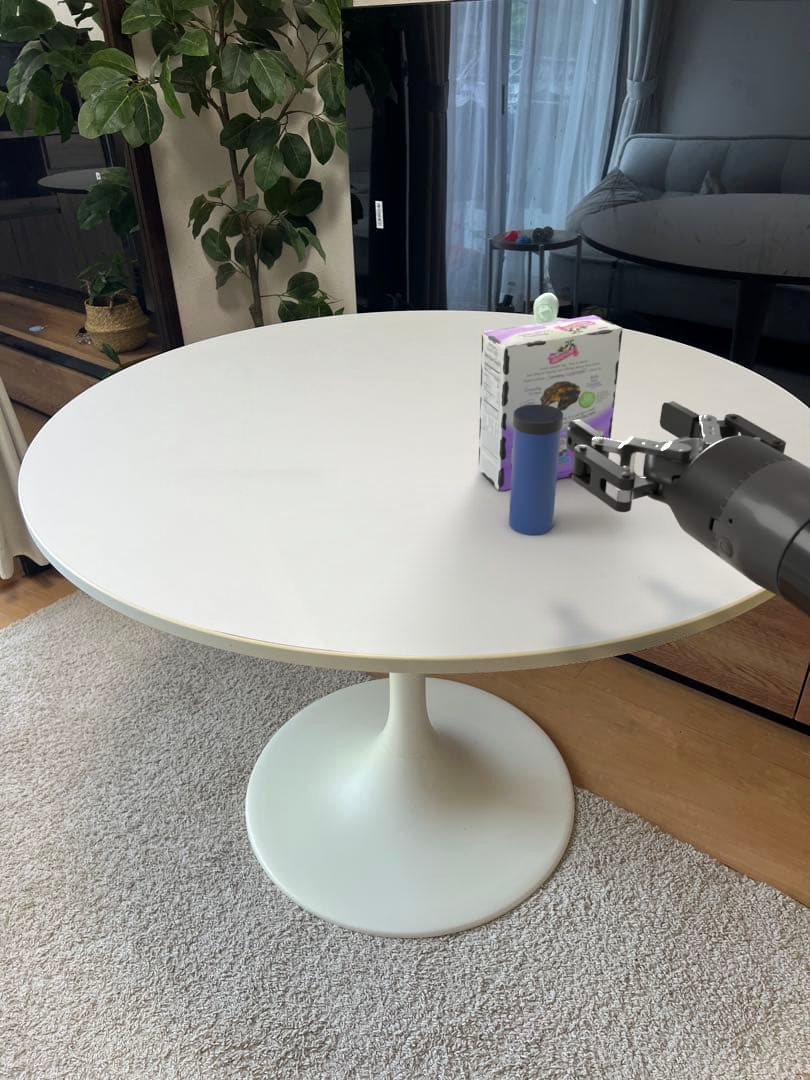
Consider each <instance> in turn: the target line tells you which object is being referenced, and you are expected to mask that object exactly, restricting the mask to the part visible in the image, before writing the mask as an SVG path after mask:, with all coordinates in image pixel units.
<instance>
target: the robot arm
mask: <svg viewBox="0 0 810 1080" xmlns="http://www.w3.org/2000/svg"><path fill="white" fill-rule="evenodd" d="M659 425H660V427H661V429H663V430H665V431H666V432H667V433H669V434H671V435H673V436H674V437H676V439H673V440H672V441H661V442H660V441H656V440H650V439H646V438H640V437H635V436H630V437H629V438H627V440H625V441H623V440H618V439H613V438H611V439H608V438H604V436H603V435H602V434H601V433H599V432H598V431H596V430H595V429H593V428H592V427H590V426H589V425H587V424H586V423H584V422H583V421H581V420H574V421H570V422H569V427H568V428H567V436H566V447H567V448H568V449H569V450H571V451H572V452H573V453H574V465H573V472H572V476H571V480H572V481H573V482H574V483H576V484H577V485H579V486H580V487H581V488H583V489H584V490H586V491H587V492H588V493H590V494H591V495H592V496H594V497H596V498H597V499H598V500H600V501H601V502H602V503H604V504H605V505H607V506H608V507H610V508H611V509H613V510H614V511H615V512H618V513H628V512H630V511H631V510H632V504H633V501H634V500H637V499H640V498H645V497H648V498H650V499H652V500H654V501H657V502H659V503H660V502H661V503H663V504H665V505H667V506H668V507H669V509H670V510H671V512H672V514H673V515H674V517H675V520H676V522H677V523H678V526H679V527H680V528H681V530H683V531H684V532H685V533H686V534H687V535H689V536H690V537H691V538H692V539H694V540H695V541H696V542H699V544H701V545H702V546H703V547H705V548H706V549H707V550H709V551H710V552H711V553H712V554H714V555H716V556H717V557H719V558H720V559H721V560H722V561H724V562H725V563H726V564H727V565H729V566H730V567H732V568H733V569H734V570H736V571H737V572H738V573H740V574H741V575H743V576H744V577H745V578H747V579H748V580H749V581H751V582H753V583H754V584H755V585H756V586H758V587H761V588H762V589H764V590H766V591H768V592H769V593H772V594H774V595H775V596H777V597H779V598H780V599H782V600H784V601H785V602H786V603H788V604H789V605H790V606H792V607H793V608H794V609H796V610H798V611H799V612H800V613H802V614H803V615H804V616H805V617H807V618H808V619H810V466H808V465H806V464H804V463H802V462H800V461H798V460H797V459H794V458H793V457H792V456H789V455H787V454H785V450H786V446H787V442H786V441H785V440H783V439H782V438H780V437H778V436H776V435H775V434H773V433H771V432H769V431H768V430H766V429H764V428H762V427H761V426H759V425H757V424H756V423H754V422H752V421H750V420H748V419H747V418H745V417H744V416H741V415H740V414H736V413H727V414H725V415H724V419H721V420H720V419H718V420H717V417H716V416H714V415H711V414H702V415H700V414H698V413H696V412H695V411H693V410H691V409H689V408H687V407H685V406H683V405H681V404H679V403H678V402H676V401H674V400H672V401H666V402H663V403H662V405H661V412H660V417H659ZM608 452H609V453H612V454H616V455H619V457H620V461H619V464H618V463H617V462H616V461H614V460H613V459H610V458H607V454H608ZM637 453H640V454H643V455H644V459H643V460H644V461H643V467H642V468H643V469H642V475H638V474H637V473H636V471H635V463H636V458H637V457H636V456H637Z"/></svg>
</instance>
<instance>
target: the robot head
mask: <svg viewBox="0 0 810 1080" xmlns="http://www.w3.org/2000/svg"><path fill="white" fill-rule="evenodd" d="M559 308H560V304H559V300H558V298H557V297H556V294H554V293H552V292H545V293H542V294H541V295H539V296H538V297H537V298H536V299H535V301H534V303H533V320H534V324H540V323H546V322H554V321H556V319H557V317H558V313H559Z"/></svg>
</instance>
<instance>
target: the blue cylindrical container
mask: <svg viewBox="0 0 810 1080" xmlns="http://www.w3.org/2000/svg"><path fill="white" fill-rule="evenodd" d="M562 424H563V413H562V412H561V411H560V410H559V409H557V408H555V407H552V406H547V405H526V406H522V407H519V408H517V409H516V410H515V411H514V414H513V426H514V434H513V454H512V473H511V489H510V495H509V511H508V512H509V515H508V524H509V527H510V528H511V529H512V530H513V531H515V532H517V533H520V534H523V535H529V536H537V535H543V534H545V533H548V532H549V531H551V529H552V528H553V527H554V513H555V503H556V493H557V492H556V491H557V481H558V479H557V469H558V458H559V446H560V434H561V428H562Z"/></svg>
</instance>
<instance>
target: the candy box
mask: <svg viewBox="0 0 810 1080" xmlns="http://www.w3.org/2000/svg"><path fill="white" fill-rule="evenodd" d="M623 330H624V329H623V327H622V326H619V325H616V324H615V323H612V322H611V321H608V320H605V319H603V318H601V317H600V316H597V315H595V314H592V315H587V316H580V317H575V318H568V319H561V320H555V321H554V322H546V323H540V324H535V323H534V324H527V325H526V324H525V325H519V326H513V327H506V328H500V329H499V328H498V329H492V330H485V331H482V332H481V355H480V356H481V358H480V359H481V360H480V398H479V399H480V400H479V433H478V434H479V435H478V436H479V439H478V466H477V467H478V471H479V472H480V473H481V474H482V475H483V477H485V479H486V480H487V481H488V482H489V483H490V484H491V485H492V487H494V488H495V490H497V491H501V492H502V491H506V490H511V473H512V454H513V434H514V426H513V414H514V411H515V410H516V409H517V408H519V407H522V406H526V405H547V406H552V407H555V408H557V409H559V410H560V411H561V412H562V413H563V424H562V428H561V434H560V446H559V458H558V469H557V480H559V479H563V478H567V477H572V472H573V465H574V453H573V452H572V451H571V450H569V449H568V448H567V447H566V436H567V428H568V427H569V422H570V421H574V420H581V421H583V422H584V423H586V424H587V425H589V426H590V427H592V428H593V429H595V430H596V431H598V432H599V433H601V434H602V435H603V436H604V438H608V439H612V429H613V420H614V409H615V400H616V391H617V384H618V383H617V382H618V375H619V374H618V373H619V363H620V357H621V347H622V338H623ZM609 457H610V452H608V454H607V458H609ZM609 459H610V458H609Z"/></svg>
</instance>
